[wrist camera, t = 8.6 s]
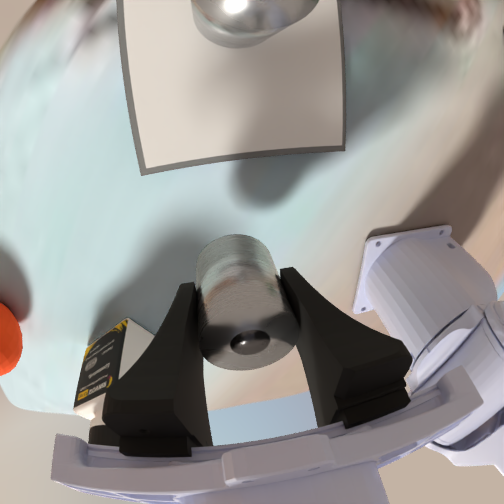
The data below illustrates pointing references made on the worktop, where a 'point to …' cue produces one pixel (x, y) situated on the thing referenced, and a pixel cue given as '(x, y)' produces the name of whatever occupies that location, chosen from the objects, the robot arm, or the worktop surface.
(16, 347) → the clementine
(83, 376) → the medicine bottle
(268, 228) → the worktop surface
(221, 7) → the spacer
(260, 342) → the spacer
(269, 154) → the scale
